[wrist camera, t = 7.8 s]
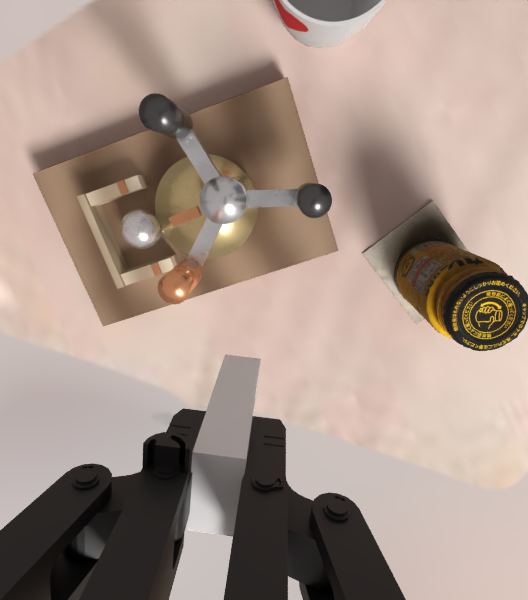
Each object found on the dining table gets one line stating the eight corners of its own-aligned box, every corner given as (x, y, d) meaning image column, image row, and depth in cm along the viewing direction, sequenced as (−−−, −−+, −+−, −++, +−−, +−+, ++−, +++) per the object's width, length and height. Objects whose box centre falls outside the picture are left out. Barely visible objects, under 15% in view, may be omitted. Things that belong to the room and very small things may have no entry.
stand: (286, 82, 34) (287, 69, 30) (335, 246, 38) (342, 255, 34) (45, 173, 37) (15, 173, 33) (111, 319, 41) (91, 335, 36)
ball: (157, 201, 35) (145, 204, 32) (171, 238, 36) (161, 244, 33) (122, 214, 36) (107, 217, 33) (137, 250, 36) (124, 257, 33)
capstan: (276, 76, 32) (275, 36, 23) (329, 222, 35) (346, 238, 26) (128, 142, 34) (72, 130, 25) (190, 277, 37) (160, 310, 28)
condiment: (415, 323, 40) (471, 383, 28) (361, 253, 38) (397, 286, 26) (484, 275, 38) (573, 317, 27) (431, 200, 37) (501, 210, 25)
